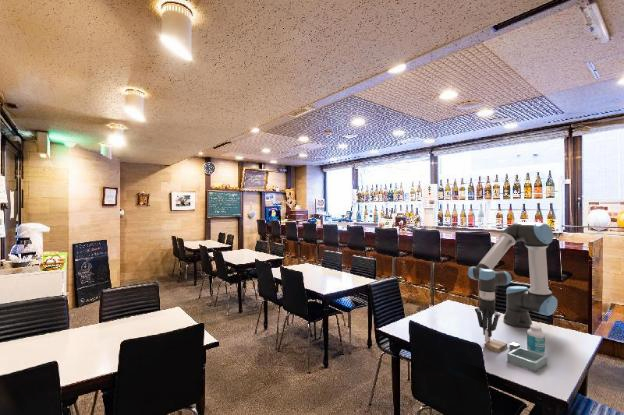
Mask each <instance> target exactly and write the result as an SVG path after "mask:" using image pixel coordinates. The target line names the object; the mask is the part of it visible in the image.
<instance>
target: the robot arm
mask: <svg viewBox="0 0 624 415" xmlns="http://www.w3.org/2000/svg"><path fill="white" fill-rule="evenodd" d="M553 239H554V231H553V229H552V227H551V226H550V225H549V224H547V223H542V222H524V221H523V222H522V221H519V222H515V223H512V224H511V225H509V226H507V227H506V228H505V229H503V230H502V231H501V233H500V234H499V238H498V240H496V241H495V243H494V244H493V246H491V248H490V249H489V251H488V252H487V253H486V254H485V255H484V256H483V257H482V259H481V260H480V262H479V263H478V264H477V265H475V266H470V267H469V268H468V271H467V275H468V277H469V278H470V279H472V280H474V281H478V282H479V283H478V284H479V288H478V289H479V290H478V292H479V299H478V301H479V306H478V307H476V308H474V311H475V313H476V317H477V322H478V325H479V327H480V328H481V329H482V332H483V333H482V335H483V336H484V343H487V342H489V341H491V337H492V336H493V335H492V334H493V331H495V330H496V329H497V325H498V322H499V319H500V317H501V316H502V314H501V313H498V312H497V309H496V287H502V286H507V285H509V284H511V282H512V276H511V273H509V272H508V271H505V270H504V271H503V270H500V271H498V270H494V268H495V267H496V265H497V264H498V263H499V262H500V260H501V259H502V258H503V257H504V255H505V254H506V253H507V252H508V250H509V249H511V247H512V246H514V245H515V244H516V243H517V242H518V243H519V242H523V243H524V246H525V248H527V251H528V252H527V253H528V269H529V282H530V283H529V284H530V285H529V286H530V287H529V288H528V287H527V286H523V285H522V286H521V285H515V286H508V287H507V288H506V293H505V295H506V296H505V297H506V311H505V313H504V316H503V323H505V324H506V325H509V326H513V327H517V328H530V325H533V321H532V319H531V316H530V313H529V312H533V313H537V314H540V315H544V316H551V315H553V314H554V313H555V312H556V310H557V308H558V299H557V297H555V296H554V295H553V291H551V290H550V289H549V278H548V276H549V275H548V263H547V260H548V259H547V249H548V247H549V246H550V244H551V243H552V242H553ZM493 315H494V316H493ZM493 317H494V318H493Z"/></svg>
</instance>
